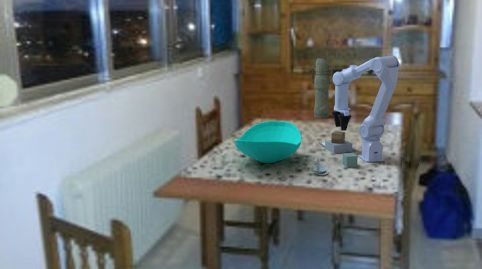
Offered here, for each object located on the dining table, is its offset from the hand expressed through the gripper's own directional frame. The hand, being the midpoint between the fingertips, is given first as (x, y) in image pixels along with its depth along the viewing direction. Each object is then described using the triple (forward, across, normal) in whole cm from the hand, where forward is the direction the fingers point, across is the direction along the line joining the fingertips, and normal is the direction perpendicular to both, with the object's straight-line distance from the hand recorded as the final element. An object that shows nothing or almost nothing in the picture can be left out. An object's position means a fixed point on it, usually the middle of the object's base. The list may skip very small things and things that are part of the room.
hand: (340, 128), depth 236 cm
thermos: (+10, +73, -14) cm, 75 cm away
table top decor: (+10, -10, +36) cm, 38 cm away
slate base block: (+10, 0, +1) cm, 10 cm away
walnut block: (+6, 0, +1) cm, 6 cm away
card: (+10, +10, +2) cm, 14 cm away
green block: (+10, -24, +4) cm, 27 cm away
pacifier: (+10, -32, +19) cm, 39 cm away
